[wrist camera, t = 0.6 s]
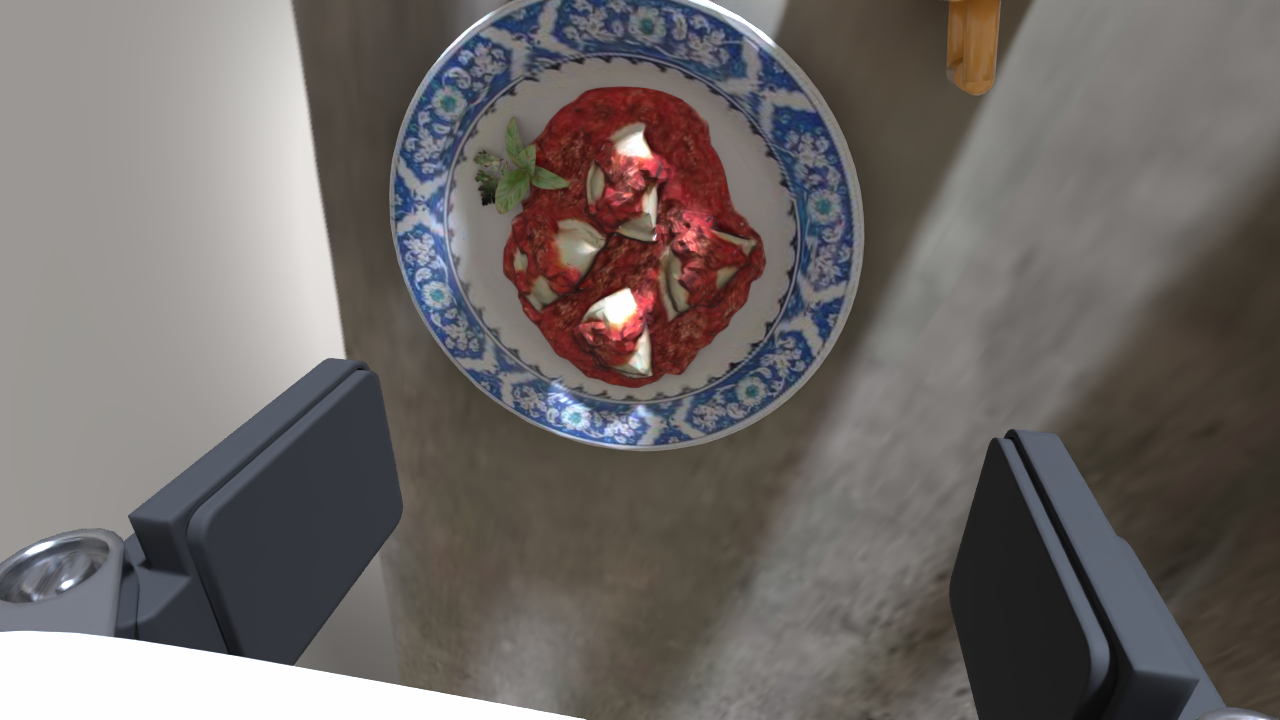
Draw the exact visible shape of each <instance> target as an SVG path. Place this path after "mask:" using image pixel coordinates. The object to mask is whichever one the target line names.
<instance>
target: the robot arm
mask: <svg viewBox="0 0 1280 720" xmlns="http://www.w3.org/2000/svg"><path fill="white" fill-rule="evenodd" d="M402 510H403V502H402V496H401V491H400V486H399V480H398V475H397V470H396V465H395V459H394V454H393V449H392V443H391V438H390V433H389V428H388V422H387V417H386V412H385V406H384V401H383V396H382V391H381V385H380V381H379V377H378V375H377V374H376V373H375V372H373V371H370V368H369V367H368V365H367V364H366V363H364V362H363V361H353V360H344V359H334V358H329V359H326V360H324V361H323V362H321V363H320V364H319V365H317V366H316V367H315V368H314V369H312V370H311V371H310V372H309V373H308V374H306V375H305V376H304V377H302V378H301V379H300V380H299V381H297V382H296V383H295V384H294V385H292V386H291V387H290V388H288V389H287V390H286V391H285V392H283V393H282V394H281V395H280V396H278V397H277V398H276V399H275V400H273V401H272V402H271V403H270V404H268V405H267V406H266V407H264V408H263V409H262V410H261V411H260V412H258V413H257V414H256V415H255V416H253V417H252V418H251V419H249V420H248V421H247V422H246V423H244V424H243V425H242V426H241V427H239V428H238V429H237V430H235V431H234V432H233V433H232V434H230V435H229V436H228V437H227V438H225V439H224V440H223V441H222V442H220V443H219V444H218V445H217V446H215V447H214V448H213V449H212V450H210V451H209V452H208V453H206V454H205V455H204V456H203V457H201V458H200V459H199V460H198V461H196V462H195V463H194V464H193V465H191V466H190V467H189V468H188V469H186V470H185V471H184V472H183V473H181V474H180V475H179V476H177V477H176V478H175V479H174V480H172V481H171V482H170V483H169V484H167V485H166V486H165V487H164V488H162V489H161V490H160V491H159V492H157V493H156V494H155V495H154V496H152V497H151V498H150V499H148V500H147V501H146V502H145V503H143V504H142V505H141V506H140V507H138V508H137V509H136V510H135V511H133V512H132V513H131V514H130V515H128V517H129V519H130V522H131V524H132V527H133V529H134V531H135V533H134V534H132V535H131V536H130V537H129V538H127V539H126V540H125V541H124V542H123V540H122V538H121V537H119V535H117V534H116V533H115V532H113V531H109V530H105V529H100V528H98V529H97V528H96V529H79V530H74V531H69V532H63V533H60V534H57V535H54V536H51V537H48V538H45V539H42V540H40V541H38V542H36V543H34V544H32V545H29V546H28V547H25V548H23V549H21V550H19V551H18V552H16V553H15V554H13V555H12V556H10V557H9V558H7V559H6V560H4V561H3V562H1V563H0V720H585V719H580V718H575V717H569V716H564V715H558V714H553V713H548V712H542V711H537V710H532V709H526V708H521V707H515V706H510V705H504V704H499V703H494V702H488V701H483V700H477V699H472V698H466V697H461V696H456V695H450V694H445V693H439V692H434V691H428V690H423V689H417V688H412V687H406V686H401V685H395V684H390V683H384V682H378V681H373V680H367V679H362V678H356V677H350V676H345V675H339V674H333V673H328V672H323V671H317V670H311V669H305V668H300V667H294V666H293V665H294V664H295V663H296V661H297V660H298V659H299V657H300V656H301V655H302V653H303V652H304V651H305V649H306V648H307V646H308V645H309V644H310V643H311V641H312V640H313V638H314V637H315V636H316V634H317V633H318V632H319V630H320V629H321V628H322V626H323V625H324V624H325V622H326V621H327V619H328V618H329V617H330V615H331V614H332V613H333V611H334V610H335V609H336V607H337V606H338V605H339V603H340V602H341V601H342V599H343V598H344V597H345V595H346V594H347V593H348V591H349V590H350V588H351V587H352V586H353V584H354V583H355V582H356V580H357V579H358V578H359V576H360V575H361V574H362V572H363V571H364V569H365V568H366V567H367V565H368V564H369V563H370V561H371V560H372V559H373V557H374V556H375V555H376V553H377V552H378V551H379V549H380V548H381V547H382V545H383V544H384V542H385V541H386V540H387V538H388V537H389V536H390V534H391V533H392V532H393V530H394V529H395V528H396V526H397V525H398V523H399V521H400V518H401V515H402ZM949 597H950V605H951V609H952V613H953V617H954V621H955V625H956V629H957V633H958V638H959V642H960V646H961V650H962V654H963V658H964V662H965V666H966V670H967V674H968V678H969V682H970V686H971V690H972V694H973V698H974V702H975V706H976V710H977V714H978V718H979V720H1280V719H1278V718H1276V717H1273V716H1270V715H1267V714H1263V713H1260V712H1257V711H1254V710H1250V709H1244V708H1234V707H1226V705H1225V703H1224V702H1223V700H1222V698H1221V697H1220V695H1219V693H1218V692H1217V690H1216V688H1215V687H1214V685H1213V683H1212V682H1211V680H1210V678H1209V677H1208V675H1207V673H1206V672H1205V670H1204V668H1203V667H1202V665H1201V663H1200V662H1199V660H1198V658H1197V656H1196V655H1195V653H1194V651H1193V650H1192V648H1191V646H1190V645H1189V643H1188V641H1187V640H1186V638H1185V636H1184V635H1183V633H1182V631H1181V630H1180V628H1179V626H1178V625H1177V623H1176V621H1175V620H1174V618H1173V616H1172V615H1171V613H1170V611H1169V610H1168V608H1167V606H1166V605H1165V603H1164V601H1163V600H1162V598H1161V596H1160V594H1159V593H1158V591H1157V589H1156V588H1155V586H1154V584H1153V583H1152V581H1151V579H1150V578H1149V576H1148V574H1147V573H1146V571H1145V569H1144V568H1143V566H1142V564H1141V563H1140V561H1139V559H1138V558H1137V556H1136V554H1135V553H1134V551H1133V549H1132V548H1131V547H1130V545H1129V544H1128V543H1127V542H1126V540H1125V539H1123V538H1121V537H1119V536H1116V534H1115V532H1114V530H1113V529H1112V527H1111V525H1110V524H1109V522H1108V520H1107V518H1106V517H1105V515H1104V513H1103V512H1102V510H1101V508H1100V506H1099V505H1098V503H1097V501H1096V500H1095V498H1094V496H1093V494H1092V493H1091V491H1090V489H1089V488H1088V486H1087V484H1086V482H1085V481H1084V479H1083V477H1082V476H1081V474H1080V472H1079V470H1078V469H1077V467H1076V465H1075V463H1074V462H1073V460H1072V458H1071V457H1070V455H1069V453H1068V451H1067V450H1066V448H1065V446H1064V445H1063V443H1062V441H1061V439H1060V438H1059V437H1058V436H1057V435H1056V434H1053V433H1045V432H1035V431H1025V430H1016V429H1011V430H1009V431H1008V432H1007V433H1006V435H1005V436H1004V438H993V439H992V440H991V442H990V444H989V447H988V450H987V453H986V457H985V460H984V464H983V467H982V471H981V474H980V478H979V481H978V485H977V488H976V492H975V495H974V499H973V502H972V506H971V509H970V513H969V516H968V520H967V523H966V527H965V530H964V534H963V537H962V541H961V544H960V548H959V552H958V555H957V559H956V562H955V566H954V569H953V573H952V576H951V580H950V588H949Z"/></svg>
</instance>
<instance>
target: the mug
mask: <svg viewBox="0 0 1280 720" xmlns="http://www.w3.org/2000/svg"><path fill="white" fill-rule="evenodd" d="M940 1H949V17H948V38H947V58H946V77H947V79H948V80H949V82H951V83H952V84H954V85H955V86H957V87H959V88H960V89H962V90H964V91H965V92H967V93H968V94H971V95H975V96H977V95H982V94H984V93H986V92H987V91H989V90H990V89H991V87H992V86H993V84H994V82H995V74H996V61H997V48H998V35H999V23H1000V10H1001V0H940Z"/></svg>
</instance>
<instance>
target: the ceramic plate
mask: <svg viewBox="0 0 1280 720" xmlns="http://www.w3.org/2000/svg"><path fill="white" fill-rule="evenodd" d="M389 201H390V224H391V230H392V236H393V242H394V246H395V250H396V255H397V259H398V263H399V266H400V269H401V272H402V275H403V279H404V282H405V284H406V286H407V289H408V291H409V294H410V296H411V299H412V301H413V303H414V306H415V308H416V309H417V311H418V313H419V315H420V317H421V318H422V320H423V322H424V323H425V325H426V326H427V328H428V330H429V331H430V333H431V334H432V336H433V338H434V339H435V340H436V342H437V343H438V344H439V346H440V347H441V348H442V350H443V351H444V352H445V354H446V355H447V356H448V357H449V358H450V360H451V361H452V362H453V363H454V364H455V365H456V366H457V367H458V369H459V370H460V371H461V372H462V373H463V374H464V375H465V376H466V377H467V378H468V379H469V380H470V381H471V382H472V383H473V384H474V385H475V386H476V387H477V388H479V389H480V390H481V391H482V392H484V393H485V394H486V395H488V396H489V397H490V398H492V399H493V400H494V401H496V402H497V403H499V404H500V405H501V406H503V407H504V408H506V409H507V410H509V411H510V412H512V413H514V414H515V415H517V416H519V417H520V418H522V419H524V420H525V421H527V422H529V423H531V424H533V425H535V426H537V427H540V428H542V429H544V430H547V431H549V432H552V433H554V434H557V435H559V436H562V437H565V438H568V439H571V440H574V441H577V442H580V443H583V444H588V445H593V446H598V447H604V448H611V449H618V450H631V451H660V450H669V449H679V448H684V447H689V446H694V445H700V444H704V443H707V442H710V441H714V440H717V439H720V438H722V437H725V436H727V435H730V434H732V433H735V432H737V431H739V430H741V429H743V428H745V427H747V426H749V425H751V424H753V423H755V422H757V421H759V420H760V419H762V418H763V417H765V416H766V415H768V414H770V413H771V412H773V411H774V410H775V409H777V408H778V407H779V406H781V405H782V404H783V403H784V402H786V401H787V400H788V399H790V398H791V397H792V396H793V395H794V394H795V393H796V392H797V391H798V390H799V389H800V388H801V387H802V386H803V385H804V384H805V383H806V382H807V381H808V380H809V379H810V378H811V376H812V375H813V374H814V373H815V372H816V371H817V369H818V368H819V367H820V366H821V364H822V363H823V361H824V360H825V358H826V357H827V356H828V354H829V353H830V351H831V350H832V348H833V346H834V344H835V343H836V341H837V339H838V337H839V335H840V334H841V332H842V330H843V327H844V325H845V323H846V320H847V318H848V316H849V313H850V311H851V308H852V305H853V302H854V298H855V295H856V292H857V289H858V284H859V279H860V274H861V268H862V262H863V250H864V213H863V205H862V197H861V190H860V186H859V181H858V177H857V173H856V169H855V165H854V162H853V159H852V156H851V153H850V150H849V148H848V145H847V142H846V139H845V137H844V135H843V133H842V131H841V129H840V127H839V125H838V123H837V120H836V118H835V116H834V114H833V113H832V111H831V110H830V108H829V106H828V105H827V103H826V101H825V100H824V98H823V97H822V95H821V93H820V92H819V90H818V89H817V88H816V87H815V85H814V84H813V83H812V81H811V80H810V79H809V77H808V76H807V75H806V74H805V72H804V71H803V70H802V69H801V68H800V67H799V66H798V65H797V64H796V62H795V61H794V60H793V59H792V58H791V57H790V56H789V55H788V54H787V53H786V52H785V51H784V50H783V49H782V48H781V47H779V46H778V45H777V44H776V43H775V42H774V41H772V40H771V39H770V38H769V37H768V36H766V35H765V34H764V33H763V32H762V31H760V30H759V29H757V28H756V27H754V26H753V25H751V24H750V23H748V22H747V21H745V20H744V19H742V18H741V17H739V16H738V15H736V14H734V13H732V12H730V11H728V10H726V9H724V8H722V7H720V6H718V5H716V4H714V3H712V2H710V1H708V0H514V1H512V2H509V3H507V4H505V5H503V6H501V7H500V8H498V9H496V10H495V11H493V12H491V13H490V14H488V15H486V16H485V17H483V18H482V19H480V20H479V21H478V22H476V23H475V24H474V25H473V26H471V27H470V28H469V29H467V30H466V31H465V32H463V33H462V34H461V35H460V36H459V37H458V38H457V39H456V40H455V41H454V42H453V43H452V44H451V45H450V46H449V47H448V48H447V49H446V50H445V51H444V53H443V54H442V55H441V56H440V58H439V59H438V60H437V61H436V63H435V64H434V65H433V66H432V68H431V69H430V70H429V71H428V73H427V74H426V76H425V77H424V79H423V81H422V82H421V84H420V85H419V87H418V89H417V91H416V93H415V95H414V97H413V99H412V101H411V103H410V105H409V107H408V109H407V112H406V114H405V117H404V120H403V122H402V125H401V128H400V130H399V134H398V138H397V142H396V146H395V150H394V154H393V159H392V166H391V174H390V193H389Z"/></svg>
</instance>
